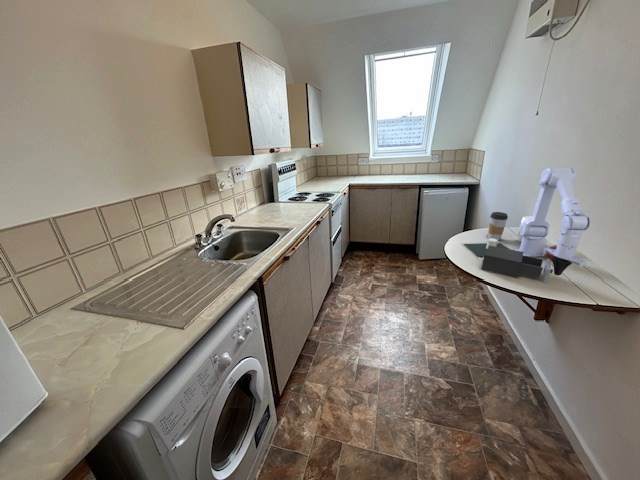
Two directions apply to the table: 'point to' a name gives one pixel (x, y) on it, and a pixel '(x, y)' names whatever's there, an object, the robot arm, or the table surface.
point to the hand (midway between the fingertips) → (557, 274)
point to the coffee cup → (497, 225)
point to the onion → (550, 254)
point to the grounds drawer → (535, 268)
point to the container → (491, 242)
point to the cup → (520, 228)
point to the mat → (481, 248)
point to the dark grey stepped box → (502, 261)
